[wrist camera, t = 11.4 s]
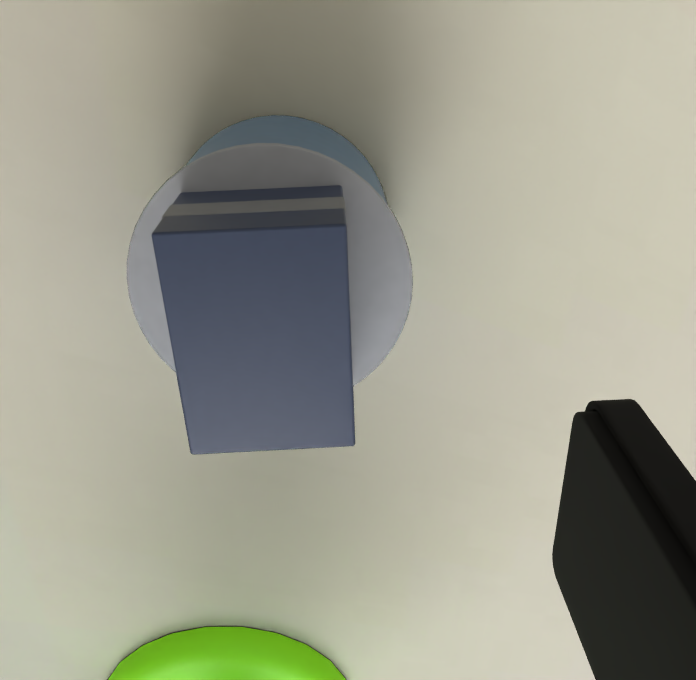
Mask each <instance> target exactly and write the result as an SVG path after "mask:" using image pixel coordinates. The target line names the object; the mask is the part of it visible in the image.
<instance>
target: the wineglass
mask: <svg viewBox="0 0 696 680" xmlns="http://www.w3.org/2000/svg"><path fill="white" fill-rule="evenodd" d="M108 680H346V679H345V678H344V677H343V675H342V674H341V673H340V672H339V671H338V669H337V668H336V667H335V666H334V665H333V663H332V662H331V661H330V660H329V659H327V658H326V657H324V656H323V655H321V654H320V653H318V652H317V651H315V650H314V649H312V648H311V647H309V646H308V645H306V644H304V643H301V642H298V641H296V640H293V639H291V638H288V637H285V636H283V635H280V634H278V633H274V632H268V631H263V630H257V629H251V628H246V627H203V628H198V629H193V630H187V631H182V632H177V633H172V634H169V635H167V636H164V637H162V638H160V639H157V640H155V641H152V642H150V643H147V644H145V645H143V646H141V647H140V648H139V649H137V650H136V651H134V652H133V653H132V654H130V655H129V656H128V657H126V658H125V659H124V660H122V661H121V662H120V663H119V664H118V666H117V667H116V669H115V670H114V672H113V673H112V674H111V676H110V677H109V679H108Z"/></svg>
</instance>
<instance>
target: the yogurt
mask: <svg viewBox="0 0 696 680" xmlns="http://www.w3.org/2000/svg"><path fill="white" fill-rule="evenodd" d="M334 185H340V186H342V189H343V197H344V199H345V207H346V223H347V242H348V267H349V293H350V319H351V345H352V370H353V386H354V385H356V384H357V383H359V382H361V381H362V380H363V379H364V378H365V377H367V376H368V375H369V374H370V373H371V372H373V371H374V370H375V369H376V368H377V367H378V365H379V364H380V363H381V362H382V361H383V360H384V359H385V358H386V356H387V355H388V354H389V352H390V351H391V349H392V348H393V347H394V345H395V343H396V341H397V340H398V338H399V336H400V334H401V332H402V330H403V327H404V325H405V322H406V319H407V316H408V313H409V308H410V304H411V299H412V286H413V277H412V264H411V259H410V254H409V249H408V246H407V243H406V240H405V237H404V235H403V232H402V229H401V227H400V225H399V223H398V221H397V219H396V217H395V216H394V214H393V212H392V210H391V209H390V208H389V206H388V204H387V201H386V198H385V195H384V192H383V189H382V187H381V184H380V181H379V179H378V177H377V175H376V174H375V172H374V170H373V168H372V167H371V165H370V164H369V162H368V161H367V160H366V158H365V157H364V156H363V155H362V154H361V152H360V151H359V150H358V149H357V148H356V147H355V146H354V145H353V144H351V143H350V142H349V141H348V140H347V139H345V138H344V137H343V136H341V135H340V134H338V133H336V132H335V131H333V130H332V129H330V128H328V127H326V126H323V125H321V124H319V123H317V122H313V121H310V120H307V119H303V118H298V117H292V116H277V115H271V116H262V117H256V118H252V119H248V120H244V121H241V122H239V123H236V124H234V125H231V126H229V127H227V128H225V129H224V130H222V131H220V132H219V133H217V134H215V135H214V136H213V137H212V138H210V139H209V140H208V141H207V142H205V143H204V144H203V146H202V147H201V148H200V149H199V150H198V151H197V152H196V153H195V154H194V155H193V157H192V158H191V159H190V161H189V162H188V163H187V164H186V166H185V167H183V168H182V169H180V170H179V171H178V172H177V173H175V174H174V175H173V176H172V177H170V178H169V179H168V180H167V181H166V182H165V183H164V184H163V185H162V186H161V187H160V189H159V190H158V191H157V192H156V193H155V194H154V195H153V197H152V198H151V200H150V201H149V203H148V204H147V205H146V207H145V208H144V210H143V212H142V214H141V216H140V218H139V220H138V222H137V224H136V226H135V229H134V232H133V235H132V238H131V242H130V246H129V252H128V258H127V284H128V291H129V297H130V301H131V305H132V308H133V312H134V314H135V317H136V319H137V321H138V324H139V326H140V328H141V330H142V332H143V334H144V335H145V337H146V339H147V340H148V342H149V344H150V345H151V346H152V348H153V349H154V350H155V352H156V353H157V354H158V355H159V357H160V358H161V359H162V360H163V361H164V362H165V363H166V364H167V365H168V366H169V367H170V368H171V369H172V370H173V371H175V372H176V369H175V364H174V358H173V353H172V347H171V341H170V336H169V330H168V325H167V319H166V314H165V308H164V303H163V297H162V292H161V286H160V281H159V275H158V269H157V264H156V258H155V253H154V247H153V242H152V236H151V235H152V232H153V231H154V230H155V228H156V227H157V225H158V224H159V222H160V221H161V220H162V216H163V215H164V213H165V212H166V210H167V209H168V207H169V206H170V205H172V204H173V203H174V201H175V200H176V198H177V197H178V195H179V194H180V193H183V192H205V191H226V190H248V189H269V188H291V187H313V186H334Z"/></svg>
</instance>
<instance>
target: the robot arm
mask: <svg viewBox="0 0 696 680" xmlns="http://www.w3.org/2000/svg"><path fill="white" fill-rule="evenodd" d="M552 556H553V567H554V572H555V576H556V579H557V582H558V584H559V587H560V589H561V592H562V594H563V597H564V600H565V602H566V605H567V607H568V610H569V612H570V615H571V617H572V620H573V623H574V625H575V628H576V630H577V633H578V635H579V638H580V641H581V643H582V646H583V648H584V651H585V653H586V656H587V659H588V661H589V664H590V666H591V669H592V671H593V674H594V677H595V679H596V680H696V481H695V480H694V478H693V477H692V476H691V474H690V473H689V471H688V470H687V469H686V467H685V466H684V465H683V463H682V462H681V461H680V459H679V458H678V457H677V455H676V454H675V453H674V451H673V450H672V449H671V447H670V446H669V445H668V443H667V442H666V440H665V439H664V438H663V436H662V435H661V434H660V432H659V431H658V430H657V428H656V427H655V426H654V424H653V423H652V422H651V420H650V419H649V418H648V416H647V415H646V414H645V412H644V411H643V409H642V408H641V407H640V405H639V404H638V403H637V402H636V401H635V400H632V399H622V400H602V401H591V402H589V403H588V405H587V407H586V410H585V412H577V413H576V414H575V415H574V418H573V422H572V429H571V435H570V442H569V448H568V455H567V461H566V467H565V474H564V480H563V487H562V493H561V500H560V506H559V513H558V519H557V526H556V532H555V539H554V545H553V554H552Z"/></svg>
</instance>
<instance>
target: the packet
mask: <svg viewBox="0 0 696 680" xmlns="http://www.w3.org/2000/svg"><path fill="white" fill-rule="evenodd" d="M151 236H152V242H153V247H154V253H155V258H156V264H157V269H158V275H159V281H160V286H161V292H162V297H163V303H164V308H165V314H166V319H167V325H168V330H169V336H170V341H171V347H172V353H173V358H174V364H175V369H176V375H177V380H178V386H179V391H180V397H181V402H182V408H183V413H184V419H185V425H186V430H187V436H188V441H189V447H190V452H191V454H212V453H231V452H250V451H269V450H288V449H307V448H326V447H345V446H354V445H355V422H354V396H353V370H352V345H351V319H350V293H349V267H348V242H347V223H346V207H345V199H344V197H343V189H342V186H340V185H334V186H313V187H291V188H269V189H248V190H226V191H205V192H183V193H180V194H179V195H178V197H177V198H176V200H175V201H174V203H173V204H172V205H170V206H169V207H168V209H167V210H166V212H165V213H164V215H163V216H162V220H161V221H160V222H159V224H158V225H157V227H156V228H155V230H154V231H153V232H152V235H151Z"/></svg>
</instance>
